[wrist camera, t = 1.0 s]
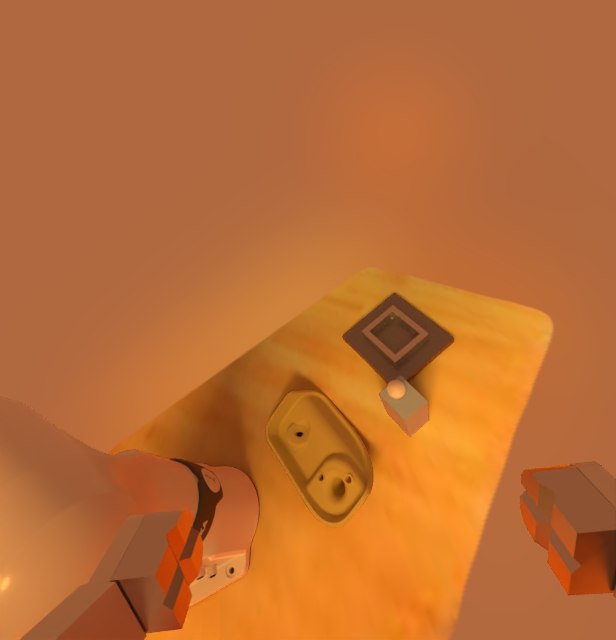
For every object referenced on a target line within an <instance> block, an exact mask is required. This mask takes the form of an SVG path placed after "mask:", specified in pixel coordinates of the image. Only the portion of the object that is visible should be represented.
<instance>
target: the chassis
mask: <svg viewBox="0 0 616 640" xmlns="http://www.w3.org/2000/svg"><path fill="white" fill-rule="evenodd" d="M342 337H343V339H344V340H345V341H346V342H347V343H348V344H349V345H350V346H351V347H352V348H353V349H354V350H355V351H356V352H357V353H358V354H359V355H360V356H361V357H362V358H363V359H364V360H365V361H366V362H367V363H368V364H369V365H370V366H371V367H372V368H373V369H374V370H375V371H376V372H377V373H378V374H379V375H380V376H381V377H382V378H383V379H384V380H385V381H386V382H387V383H389V382H390V381H392V380H395V379H396V378H398V377H399V376H400V375H401V376H402V377H403V378H404V379H405V380H406V381H407V382H409V381H410V380H411V379H412V378H413V377H414V376H415V375H417V374H418V373H419V372H420V371H421V370H422V369H423V368H425V367H426V366H427V365H428V364H429V363H430V362H431V361H433V360H434V359H435V358H436V357H437V356H438V355H439V354H441V353H442V352H443V351H444V350H445V349H446V348H447V347H449V346H450V345H451V344H452V343H453V342H454V338H453V337H452V336H450V335H449V334H448V333H447V332H445V331H444V330H443V329H441V328H440V327H439V326H437V325H436V324H435V323H433V322H432V321H431V320H429V319H428V318H427V317H425V316H424V315H423V314H421V313H420V312H419V311H417V310H416V309H415V308H414V307H412V306H411V305H410V304H408V303H407V302H406V301H404V300H403V299H402V298H400V297H399V296H398V295H396V294H395V293H394V294H393V295H391V296H390V297H389V298H388V299H387V300H385V301H384V302H383V303H382V304H381V305H379V306H378V307H377V308H376V309H375V310H373V311H372V312H371V313H370V314H369V315H367V316H366V317H365V318H364V319H363V320H361V321H360V322H359V323H358V324H357V325H355V326H354V327H353V328H352V329H351V330H349V331H348V332H347V333H346V334H345V335H343V336H342Z"/></svg>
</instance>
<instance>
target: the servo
mask: <svg viewBox="0 0 616 640" xmlns="http://www.w3.org/2000/svg"><path fill="white" fill-rule="evenodd" d="M379 395H380V397H381V400H382V402H383V405H384V407H385V409H386V412H387V413H388V415H389V416H390V417H391V418H392V419H393V420H394V421H395V422H396V423H397V424H398V425H399V426H400V427H401V429H402V430H403V431H404V432H405V433H406V434H407V435H408V436H409V437H411V436H412V435H413V434H414V433H415V432H416V431H418V430H419V429H420V428H421V427H422V426H423V425H424V424H425V423H426V422H428V421H429V413H428V402H427V400H426V399H425V398H424V397H423V396H422V395H421V394H420V393H419V392H418V391H417V390H415V389H414V388H413V387H412V386H411V385H410V384H409V383H408V382H407V381H406V380H405V379H404V378H403V377H402V376H401V375H400V376H399V377H398V378H396V379H395V380H392V381H390V382H389V383H388V385H387V387H386V388H385V389H384V390H383V391H381V392H380V393H379Z"/></svg>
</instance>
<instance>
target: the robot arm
mask: <svg viewBox="0 0 616 640" xmlns="http://www.w3.org/2000/svg"><path fill="white" fill-rule="evenodd" d="M521 483H522V485H523V486H524V487H525V489H526V491H525V492H524V493H523V494H522V495H521V496H520V510H521V513H522V517H523V520H524V523H525V525H526V527H527V529H528V531H529V533H530V534H531V536H532V538H533V540H534V541H535V542H536V543H538V544H539V545H540V546H542V547H543V548H545V549H546V550H548V561H547V562H548V564H549V565H550V567H551V569H552V570H553V572H554V573H555V575H556V577H557V578H558V580H559V581H560V583H561V585H562V586H563V588H564V589H565V591H566V592H567V594H568V595H585V594H603V593H614V594H613V595H614V596H615V597H616V479H615V478H613V476H612V475H610V473H609V472H607V471H606V470H605V469H604V468H603V467H602V466H601V465H600V464H598V463H596V462H594V461H592V462H584V463H576V464H570V465H566V464H565V465H558V466H550V467H542V468H535V469H527V470H524V471H523V473H522V474H521ZM258 516H259V503H258V496H257V492H256V489H255V487H254V485H253V483H252V481H251V480H250V478H249V477H248V476H247V475H246V474H245V473H244V472H242V471H241V470H239V469H237V468H234V467H230V466H221V467H213V466H209V465H207V464H203V463H192V462H189V461H185V460H182V459H166V458H163V457H159V456H156V455H153V454H149V453H146V452H143V451H139V450H127V451H123V452H120V453H118V454H116V455H114V456H113V455H109V454H106V453H103V452H100V451H98V450H96V449H94V448H92V447H90V446H88V445H86V444H85V443H83V442H81V441H80V440H78V439H76V438H74V437H73V436H71V435H70V434H68V433H67V432H65V431H64V430H62V429H60V428H58V427H56V426H55V425H54V424H52V423H51V422H50V421H48V420H47V419H46V418H44V417H43V416H42V415H40V414H39V413H37V412H36V411H35V410H33V409H32V408H31V407H29V406H27V405H25V404H23V403H20V402H17V401H14V400H10V399H7V398H4V397H0V640H144V638H145V637H146V634H145V633H152V632H160V631H169V630H177V629H182V628H183V624H184V621H185V618H186V615H187V611H188V608H189V607H191V606H192V605H194V604H196V603H198V602H199V601H201V600H203V599H205V598H206V597H208V596H210V595H212V594H213V593H215V592H217V591H218V590H220V589H222V588H224V587H225V586H227V585H229V584H231V583H232V582H234V581H236V580H238V579H239V578H241V577H243V576H244V575H245V574H246V573H247V571H248V567H249V560H250V546H251V542H252V539H253V537H254V534H255V531H256V527H257V523H258ZM232 567H233V568H234V573H233V574H232V572H231V569H232Z"/></svg>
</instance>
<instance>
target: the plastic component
mask: <svg viewBox="0 0 616 640" xmlns="http://www.w3.org/2000/svg"><path fill="white" fill-rule="evenodd" d="M298 432H302V433H303V435H302V436H301V437H298V436H297V433H298ZM265 433H266V439H267V442H268V443H269V445H270V447H271V448H272V450H273V451H274V453H275V455H276V456H277V458H278V460H279V461H280V463H281V465H282V466H283V468H284V470H285V471H286V473H287V475H288V476H289V478H290V480H291V481H292V483H293V485H294V486H295V488H296V490H297V491H298V493H299V495H300V496H301V498H302V499H303V501H304V503H305V504H306V506H307V507H308V509H309V510H310V512H311V513H312V514H313V515H314V517H315V518H316V519H317V520H318V521H319V522H320V523H322V524H323V525H325V526H327V527H331V528H338V527H341V526H343V525H345V524H346V523H347V522H349V520H350V519H351V518H352V517H353V516H354V514H355V513H356V512H357V511H358V509H359V508H360V507H361V506H362V504H363V503H364V502H365V500H366V499H367V497H368V496H369V494H370V492H371V489H372V486H373V468H372V463H371V459H370V456H369V454H368V451H367V449H366V447H365V445H364V443H363V441H362V439H361V438H360V436H359V435H358V433H357V432H356V430H355V429H354V428H353V427H352V426H351V424H350V423H349V422H348V421H347V420H346V418H345V417H344V416H343V415H342V414H341V413H340V411H339V410H338V409H337V408H336V407H335V405H334V404H333V403H332V402H331V401H330V400H329V398H328V397H327V396H325V395H324V394H322V393H321V392H318V391H316V390H297V391H291V392H289V393H288V394H287V395H286V396H285V397H284V399H283V400H282V402H281V403H280V405H279V406H278V407H277V409H276V410H275V412H274V413H273V415H272V416H271V418H270V419H269V421H268V423H267V425H266V431H265ZM321 475H323V480H322V478H321Z"/></svg>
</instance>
